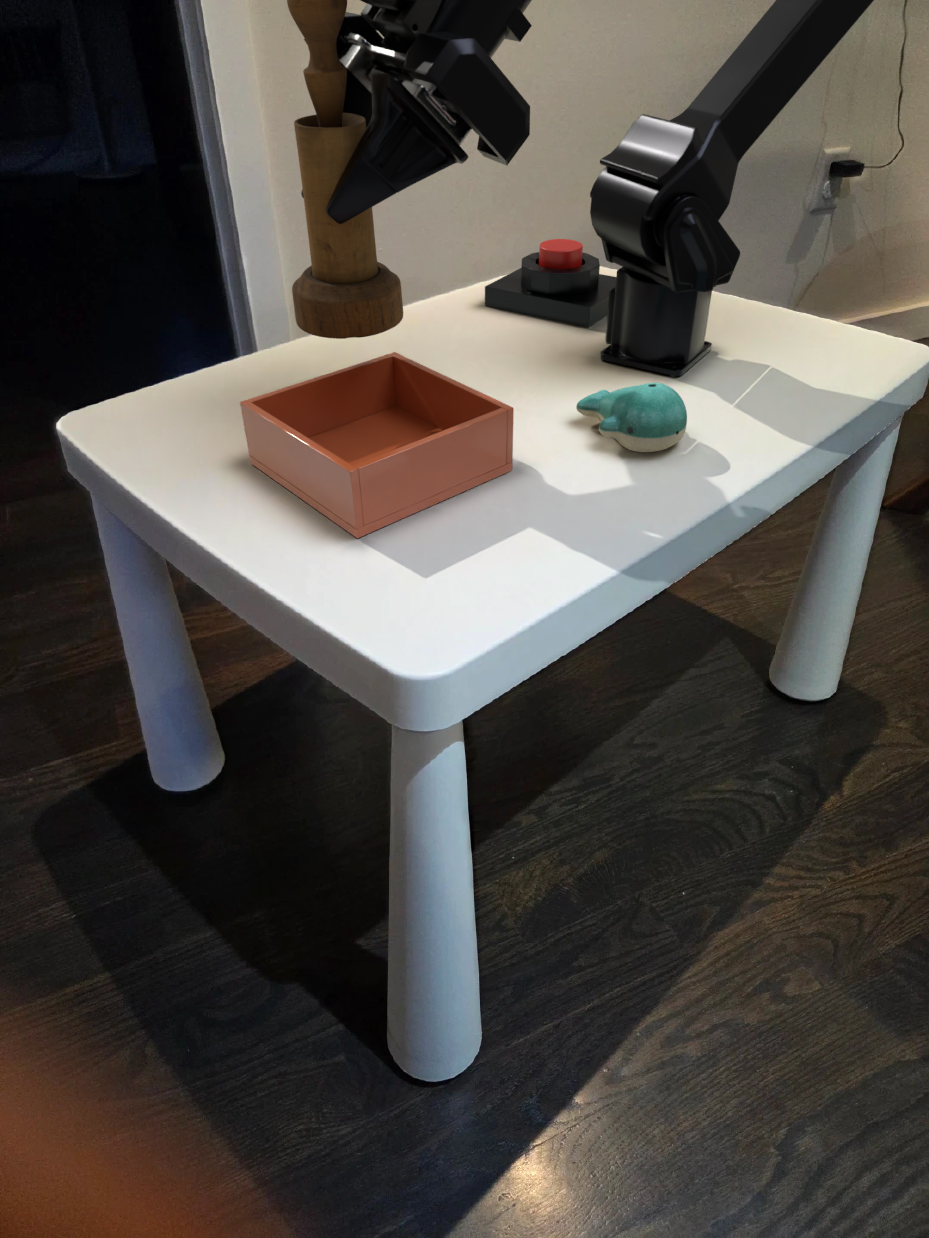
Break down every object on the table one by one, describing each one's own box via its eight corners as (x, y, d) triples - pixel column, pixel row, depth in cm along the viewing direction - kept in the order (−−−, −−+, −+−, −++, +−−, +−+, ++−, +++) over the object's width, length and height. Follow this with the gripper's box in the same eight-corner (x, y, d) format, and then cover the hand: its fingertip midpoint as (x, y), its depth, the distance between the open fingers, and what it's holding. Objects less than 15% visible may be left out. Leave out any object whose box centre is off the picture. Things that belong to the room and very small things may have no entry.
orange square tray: (398, 409, 62) (394, 351, 60) (512, 470, 55) (514, 407, 53) (250, 463, 57) (239, 401, 54) (357, 538, 50) (350, 471, 47)
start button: (589, 264, 77) (590, 242, 76) (568, 275, 75) (570, 253, 74) (551, 257, 79) (552, 236, 78) (530, 268, 76) (531, 247, 75)
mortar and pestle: (393, 295, 60) (369, -44, 48) (412, 333, 55) (391, -33, 43) (291, 306, 59) (242, -38, 47) (302, 346, 54) (250, -26, 42)
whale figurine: (643, 469, 55) (650, 411, 53) (556, 429, 60) (559, 374, 57) (703, 439, 58) (712, 383, 56) (616, 403, 63) (621, 350, 60)
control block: (631, 299, 79) (635, 258, 77) (588, 328, 74) (591, 284, 72) (531, 280, 84) (532, 241, 81) (484, 306, 78) (484, 264, 76)
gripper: (318, -165, 50) (161, 83, 53) (472, -195, 37) (251, 138, 40) (451, -1, 58) (307, 208, 61) (618, 23, 45) (423, 289, 48)
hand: (319, 210), depth 52 cm, fingers closed on mortar and pestle, 4 cm apart
